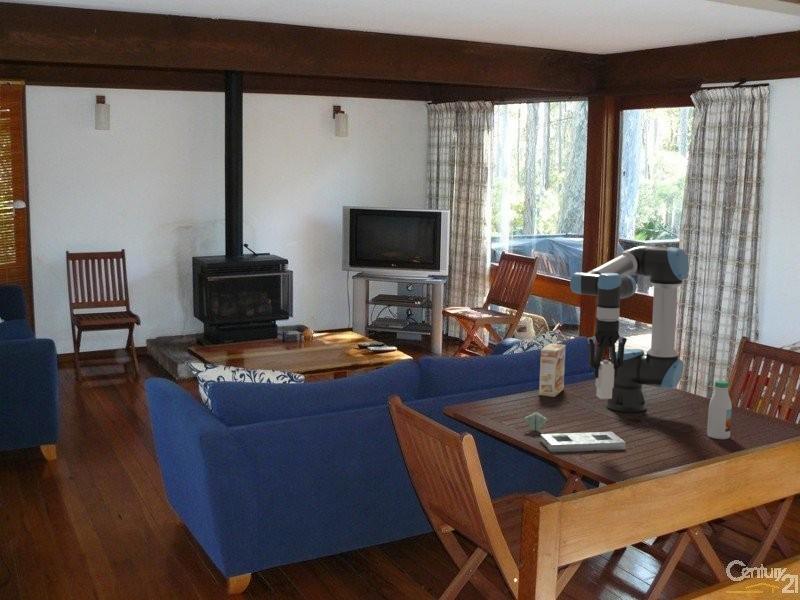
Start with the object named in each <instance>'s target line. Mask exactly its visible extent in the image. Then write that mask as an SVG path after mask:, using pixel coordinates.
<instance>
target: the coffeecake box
mask: <svg viewBox="0 0 800 600" xmlns="http://www.w3.org/2000/svg"><path fill="white" fill-rule="evenodd" d="M566 347H567V346H566V344H560V343H551V342H550V343H549V344H547V345H545V346H544V347H543V348H541V349H540V363H539V364H540V365H539V388H538V390H539V391H538V396H545V397H552V398H555V397H556V396H558V395H559V394H560V393H561V392H562V391H564V389H565V387H564V386H565V366H566V364H565V363H566Z"/></svg>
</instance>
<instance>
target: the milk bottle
mask: <svg viewBox="0 0 800 600" xmlns="http://www.w3.org/2000/svg"><path fill="white" fill-rule="evenodd" d="M729 386H730V383H729V382H728V381H726V380H715V382H714V388H715V390H714V392H713V394H712V396H711V398H710V400H709V405H708V415H707V416H708V417H707V426H706V427H707V428H706V429H707V430H706V435H707V436H708V437H709V438H711V439H716V440H727V439H730V437H731V425H732V409H733V407H732V406H733V404H732V400H731V397H730V395H729Z"/></svg>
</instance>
